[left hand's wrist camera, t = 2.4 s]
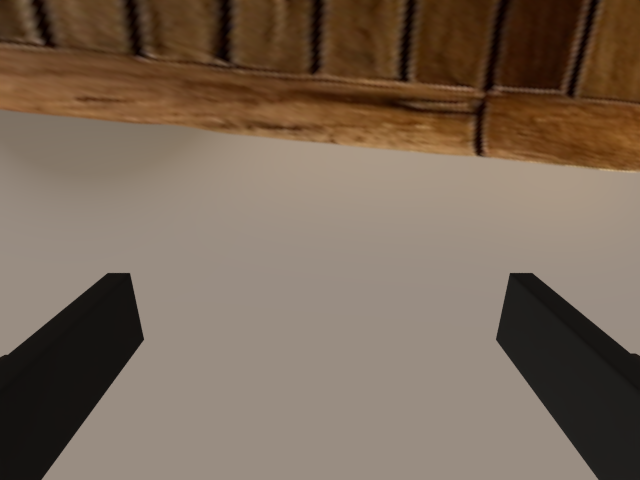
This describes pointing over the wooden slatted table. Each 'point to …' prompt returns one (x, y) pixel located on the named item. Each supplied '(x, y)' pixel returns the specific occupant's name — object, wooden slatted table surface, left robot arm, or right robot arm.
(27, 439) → the left robot arm
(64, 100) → the wooden slatted table surface
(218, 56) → the wooden slatted table surface
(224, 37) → the wooden slatted table surface
